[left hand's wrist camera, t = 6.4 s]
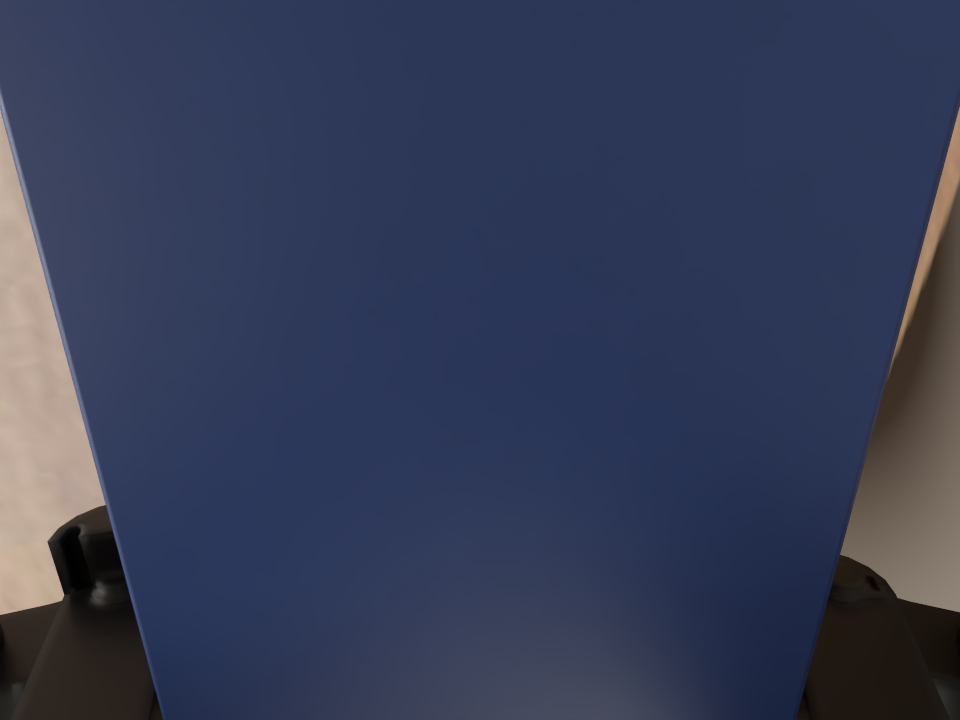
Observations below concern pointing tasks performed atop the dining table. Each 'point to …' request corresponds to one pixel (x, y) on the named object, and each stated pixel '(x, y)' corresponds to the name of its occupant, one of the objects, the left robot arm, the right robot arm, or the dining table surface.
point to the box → (479, 333)
